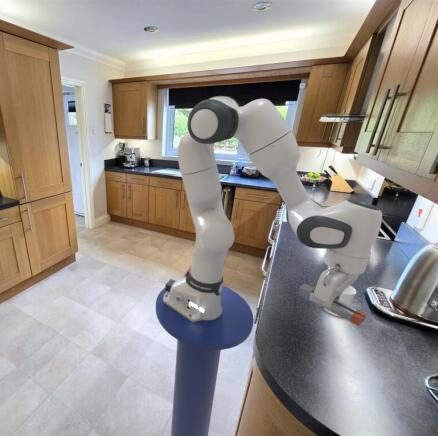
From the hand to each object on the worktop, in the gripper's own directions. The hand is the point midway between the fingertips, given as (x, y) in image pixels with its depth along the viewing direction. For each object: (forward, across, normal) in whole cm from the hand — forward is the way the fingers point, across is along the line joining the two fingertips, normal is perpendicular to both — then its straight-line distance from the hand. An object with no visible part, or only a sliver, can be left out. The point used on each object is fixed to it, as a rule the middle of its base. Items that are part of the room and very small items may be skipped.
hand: (330, 302), depth 69 cm
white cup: (+15, +21, +3) cm, 26 cm away
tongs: (+2, 0, 0) cm, 2 cm away
